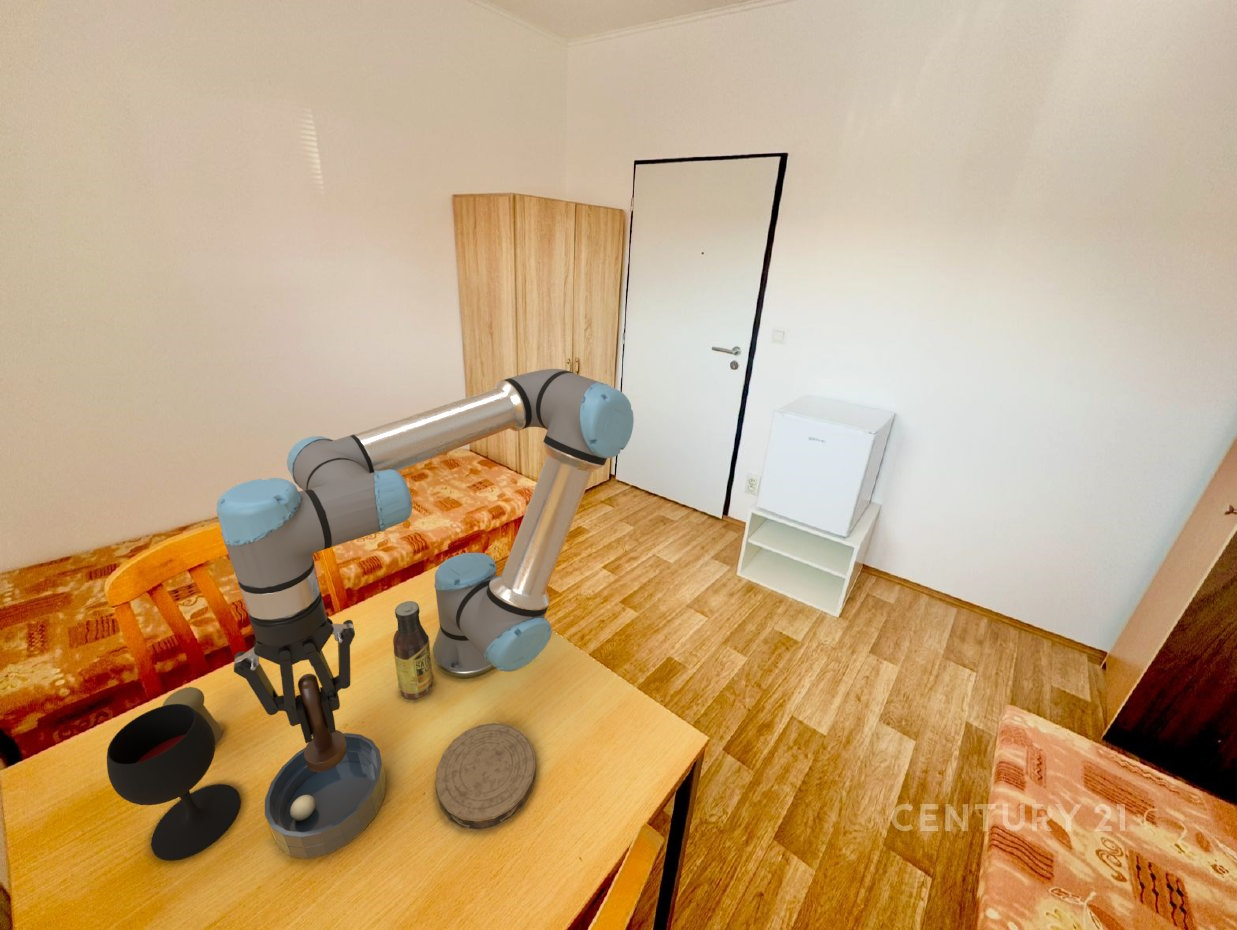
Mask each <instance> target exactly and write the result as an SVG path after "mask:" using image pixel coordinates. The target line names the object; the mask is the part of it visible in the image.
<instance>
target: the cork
mask: <svg viewBox="0 0 1237 930" xmlns="http://www.w3.org/2000/svg"><path fill="white" fill-rule="evenodd" d="M170 704H184V705H188V706H190V707H192V708H193V709H194V710H196V711H197V712H198V713H200V714H201V715H202V716H203V717H204V718H205V719H206V720H207V722H208V723H209V725H210V726H211V728H212V731H213V733H214V737H215V746H216V745H217V744H218V743H219V742H220V741H221V738H222V737H223V730H222V728H221V726H220V725H219V723H218V722H217V720H216V719H215V718H214V717H213V715H212V714H211V712H210V711H209V710H208V708H207V707H206V706H205V705H204V704H205V695H204V692H203V691H202V690H201V689H199V688H198V687H193V686H188V687H184V688H181V689H178V690H176V691H174V692H173V693H171V694H169V696H167V697H166V698H165V700H164V701H163V703H162V706H165V705H170Z"/></svg>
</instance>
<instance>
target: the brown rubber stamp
mask: <svg viewBox="0 0 1237 930" xmlns="http://www.w3.org/2000/svg"><path fill="white" fill-rule="evenodd" d="M297 688H298V691H299V695H301V698H302V702H303V705H304V709H305V712H306V716H307V719H308V723H309V726H310V730H311V733H312V741H311V742H308V743H306V746H305V747H306V748H305V747H304V748H305V750H304V757H305V761H306V764H307V767H308V768H309V769H310V770H311V771H314V772H323V771H327V770H329V769H331V768H333V767H335V766H336V765H337V764H338V763H339V762H341V760H342V759H343V758H344V756H345V754H346V751H347V744H346V740H345V736H344V734H343V732H342V731H340V730H339V729H336V732H334V733H331V734H330V733H329V729H328V725H327V722H326V718H325V714H324V710H323V706H322V702H321V692H320V685H319V680H318V677H317V675H316V674H313V673H305V674H303V675H302V676H301V677H300V678H299V679H298V680H297Z"/></svg>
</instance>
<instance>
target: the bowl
mask: <svg viewBox="0 0 1237 930" xmlns="http://www.w3.org/2000/svg"><path fill="white" fill-rule="evenodd" d="M342 733H343V732H342ZM343 734H344V736H345V740H346V744H347V751H346V754H345V756H344V758H343V759H342V760H341V762H339V763H338V764H337V765H336V766H335V767H333V768H331V769H329V770H327V771H323V772H314V771H311V770H310V769H309V768H308V767H307V764H306V761H305V757H304V750H305V748H306V746H305V747H303V748H302V749H301V750H299V751H297V752H296V753H295V754H294V755H293V756H292V757H291V758H290V759H289V760H287V762H286V763H285V764H283V765H282V766H281V768H279V770H278V772H277V773H276V774H275V777H274V778H273V779H272V781H271V782H270V783H269V784H270V785H269V787H268V790H267V793H266V795H265V798H264V816H265V817H264V818H265V819H266V821H267V824H268V826H269V829H270V832H271V835H272V837H273V839H274V840H275V841H274V842H275V843H276V844H277V846H278V849H279V850H281V852H283V853H285V854H287V855H289V856H291V857H294V858H303V859H312V858H317V857H322V856H326V855H329V854H331V853H333V852H335V851H338V850H339V849H341V848H344V847H345V846H347V845H348V844H350V842H351V841H353V840H354V839H356V837H358V836H359V835H360V834H362V832H364V831H365V829H367V827H368V826H369V824H370V823H371V822H372V821H373V820H374V818H375V817H376V815H377V814H378V811H379V810H380V807H381V805H382V803H383V802H384V799H385V794H386V788H387V781H386V774H385V770H384V765H383V760H382V755H381V751H380V749H379V747H378V746H377V745H376V743H375V742H374V740H372V739H371V738H369V737H366V736H364V735H362V734H359V733H350V732H344V733H343ZM303 795H310V796H312V797H313V798H314V800H315V808H314V811H313V812H312V814H311V815H310V816H309V817H308V818H306V819H304V820H301V821H296V820H294V819H293V818H292V817H291V815H290V809H291V806H292V804H293V802H294V801H295V800H296V799H297V798H299V797H300V796H303Z"/></svg>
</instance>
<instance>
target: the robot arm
mask: <svg viewBox="0 0 1237 930" xmlns="http://www.w3.org/2000/svg"><path fill="white" fill-rule="evenodd" d="M634 420H635V419H634V411H633V409H632V403H631V402H630V399H629V398H628V397H627V396H626V394H624V392H622V391H621V390H620V389H617V388H615V387H613V386H611V385H609V384H607V383H604V382H601V381H597V380H595V379H593V378H589V377H586V376H583V375H580V374H577V373H575V372H573V371H570V370H567V369H560V368H546V369H540V370H534V371H529V372H525V373H522V374H519V375H515V376H511V377H507V378H506V379H502V380H499V381H497V382H496V383H495V385H494V388H492V389H490V390H489V389H488V390H487V391H483V392H480V393H477V394H474V395H470V396H467V397H465V398H461V399H458V400H456V401H453V402H449V403H446V404H443V405H440V406H437V407H434V408H431V409H428V410H424V411H422V412H418V413H415V414H412V415H409V416H407V417H403V418H400V419H397V420H393V421H391V422H387V423H385V424H380V425H378V426H375V427H371V428H369V429H365V430H363V431H360V432H356V433H354V434H351V435H347V436H344V437H340V438H338V439H331V438H328V437H326V436H321V435H319V436H318V435H316V436H315V435H313V436H308V437H305V438H302V439H301V440H299V441H297V443H295V444H294V445H293V446H292V447H291V448H290V450H289V452H288V454H287V459H286V466H287V470H288V472H289V474H290V475H291V477H292V481H293V482H294V483H295V484H294V483H293V482H292V481H290V480H288V479H284V478H279V477H270V478H268V479H267V478H266V479H261V478H257V479H251V480H248V481H244V482H241V483H239V484H237V485H235V486H232V487H230V488H229V489H227V490H226V491H224V492H223V493H222V494H221V496H220V497H219V498H218V500H217V503H216V513H217V518H218V522H219V525H220V526H219V527H220V531H221V532H220V535H221V536H222V540H223V542H224V545H225V549H226V551H227V554H228V557H229V560H230V563H231V565H232V569H233V571H234V574H235V578H236V580H237V584H238V588H239V591H240V595H241V599H242V601H243V604H244V607H245V610H246V612H247V614H248V620H249V622H250V626H251V629H252V631H253V635H254V638H255V640H254V642H253V647H252V648H250V649H249V650H247V651H238V652H237V653H236V654H235V655H234V660H233V661H234V663H233V672H234V673H235V674H237V675H238V676H240V677H241V678H243V679H244V680H246V682H247V683H248V685H249V686H250V688H251V689H252V691H253V693H254V695H255V696H256V698H257V699H258V701H259V703H260V704H261V706H262V707H263V709H264V711H265V713H266V714H267V715H268V716H273V715H276V714H278V713H279V712H285V713H286V716H287V719H288V722H289V725H290V726H291V727H295V726H298V725H299V726H300V728H301V732H302V735H303V738H304V742H305V744H308V743H309V742H311V741H312V738H313V737H312V733H311V730H310V726H309V723H308V719H307V716H306V712H305V709H304V705H303V702H302V698H301V695H300V694H298V695H296V688H295V678H294V667H293V665H295V664H297V663H299V662H303V661H309V664H310V666H311V667H312V668H313V670H314V672H315V676H316V677H317V680H318V682H319V683H320V686H321V687H320V686H319V688H320V692H321V702H322V706H323V710H324V714H325V718H326V722H327V725H328V729H329V733H330V734H331V733H334V732H336V730H337V729H336V721H335V715H334V712H335V711H338V710H340V707H341V703H340V696H339V691H340V690H346V689H348V688H350V686H351V644H352V642H353V640H354V638H355V637H356V631H355V626H354V622H353V620H351V619H346V620H345V621H343V623H334V622H333V620H332V619H331V618H329V617H328V615H327V612H326V608H325V604H324V598H323V595H322V592H321V586H320V583H319V582H320V581H319V577H318V573H317V568H316V564H315V560H314V556H313V554H314V553H318V552H321V551H324V550H328V549H330V548H332V547H335V546H339V545H342V544H346V543H348V542H351V541H355V540H358V539H361V538H364V537H367V536H371V535H374V534H377V533H380V532H381V533H383V532H385V531H386V530H388V529H390V528H392V527H395V526H397V525H400V524H402V523H405V522H407V521H408V520H409V519H410V518H411V515H412V512H413V501H412V500H413V499H412V495H411V492H410V489H409V486H408V484H407V481H406V480H405V478H404V476H403V475H402V474H401V473H400V471H402V470H405V469H407V468H410V467H413V466H416V465H418V464H422V463H423V462H427V461H429V460H431V459H433V458H434V459H435V458H437V457H439V456H441V455H444V454H446V453H450V452H452V451H454V450H457V449H461V448H462V447H465V446H468V445H470V444H473V443H475V442H478V441H481V440H484V439H486V438H488V437H492V436H494V435H497V434H499V433H502V432H504V431H506V430H507V431H508V430H511V431H514V432H520V431H522V430H524V429H529V428H540V429H545V430H546V433H545V436H544V438H543V441H542V445H543V447H544V449H545V451H546V457H545V458H546V459H545V460H544V462H543V466H542V467H541V471H540V473H539V475H538V479H537V481H536V484H535V486H534V489H533V492H532V494H531V496H530V500H529V502H528V503H527V508H526V510H525V512H524V515H523V518H522V520H521V523H520V526H519V528H518V531H517V533H516V536H515V539H514V542H513V543H512V547H511V549H510V551H509V554H508V557H507V559H506V562H505V565H504V567H503V570H502V572H501V574H500V575H497V570H498V566H497V563H496V561H495V559H494V558H493V557H492V556H490V555H489V554H486V553H483V552H464V553H461V554H457V555H454V556H451V557H450V558H448V559H446V560H445V561H443V562H442V563H441V564H439V566H438V568H437V569H436V570H435V573H434V588H435V596H436V606H437V613H438V615H437V616H438V622H439V628H438V631H437V634H436V638H435V640H434V643H433V647H432V654H433V655H432V656H433V660H434V665H435V666H436V668H437V669H438V670H439V671H440V672H441V673H442V674H444V675H446V676H447V677H451V678H454V679H461V680H462V679H463V680H464V679H465V680H467V679H475V678H478V677H481V676H483V675H486V674H488V673H490V672H491V671H493V670H494V669H497V670H498V671H500V672H503V673H504V672H506V673H507V672H508V673H509V672H514V671H517V670H520V669H522V668H524V667H526V666H527V665H529V664H530V663H531V662H532V661H534V660H536V658H538V656H540V654H541V653H542V652H543V651H544V650H545V648H546V647H547V645H548V644H549V642H550V639H551V637H552V633H553V629H552V625H551V623H550V621H549V620H548V618H545V617H546V614H547V611H548V608H549V606H550V604H551V598H550V595H549V594H548V592H547V588H548V586H549V585H550V581H551V579H552V577H553V574H554V571H555V568H556V566H557V563H558V561H559V558H560V556H561V553H562V550H563V548H564V546H565V543H566V541H567V538H568V536H569V533H570V530H571V528H572V525H573V523H574V521H575V518H576V515H577V513H578V511H579V507H580V505H581V503H582V500H583V497H584V495H585V493H586V489H587V487H588V485H589V482H590V479H591V477H592V475H593V472H596V471H597V470H599V469H602V468H604V467H605V465H606V462H607V460H608V459H611V458H615V457H617V456H618V455H620V454H621V451H622V450H624V449H625V448H627V445H628V444H629V442H630V439H631V437H632V433H633V430H634ZM298 487H299V489H301V490H298ZM332 635H333V638H334V640H335V641H336V642H337V659H338V660H337V661H338V663H337V664H338V665H337V666H338V675H336V676H334V674H333V672H332V670H331V667H330V665H329V663H328V660H327V659H326V656H325V654H324V652H323V648H324V647H325V645H326V644H327V642H328V641H329V640H330V638H331V637H332ZM260 658H261V659H264V660H266V661H268V662H271V663H274V664H276V665H278V666H279V671H280V679H281V687H282V695H279V694H278V692H277V690H276V689H275V688H274V686H273V684H272V682H271V681H270V679H269V677H268V675H267V673H266V672H265V671H264V668H263V667H262V665H261V663H260Z"/></svg>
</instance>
